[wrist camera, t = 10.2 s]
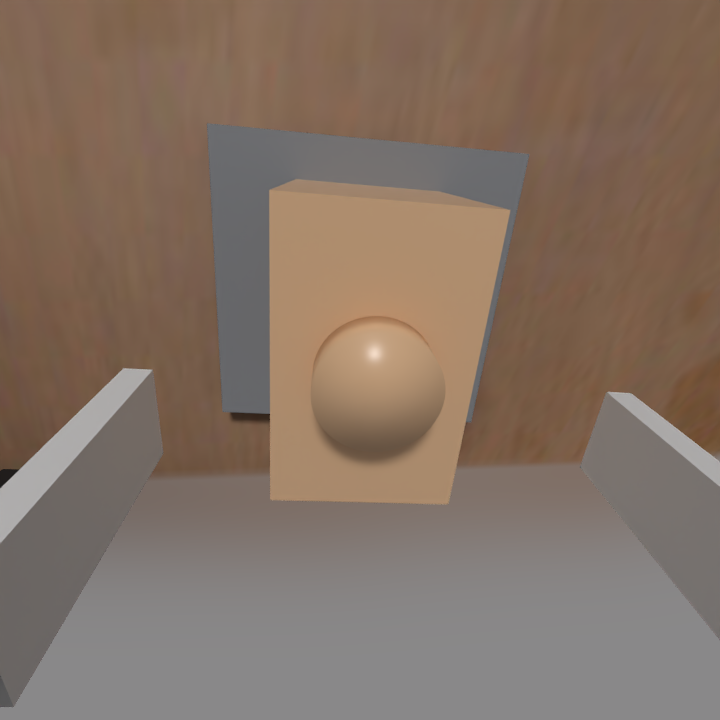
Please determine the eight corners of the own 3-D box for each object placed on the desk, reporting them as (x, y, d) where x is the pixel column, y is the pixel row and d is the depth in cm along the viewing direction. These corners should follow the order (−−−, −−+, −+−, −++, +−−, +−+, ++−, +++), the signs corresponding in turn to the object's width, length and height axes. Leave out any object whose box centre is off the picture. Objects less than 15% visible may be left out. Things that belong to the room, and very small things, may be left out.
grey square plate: (227, 400, 29) (178, 510, 20) (214, 125, 22) (131, 99, 13) (464, 410, 30) (521, 518, 21) (517, 154, 23) (634, 148, 14)
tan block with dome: (295, 179, 22) (260, 193, 11) (439, 191, 23) (532, 215, 12) (292, 385, 27) (264, 530, 16) (410, 391, 27) (458, 533, 17)
